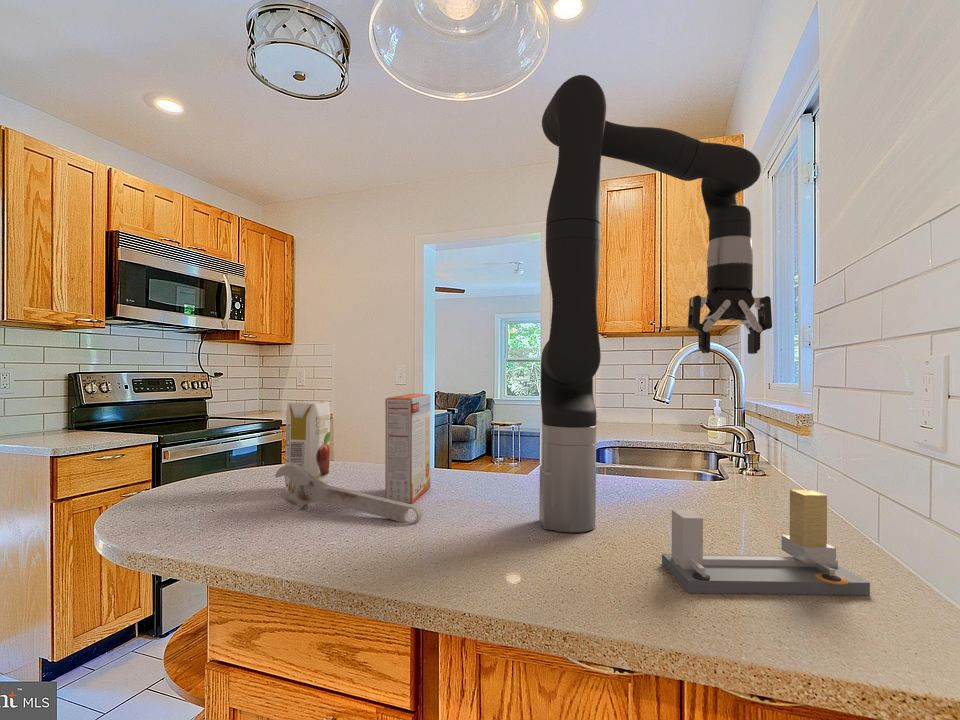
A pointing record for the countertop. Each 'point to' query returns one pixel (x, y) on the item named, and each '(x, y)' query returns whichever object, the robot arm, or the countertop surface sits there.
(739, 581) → the bolt plate
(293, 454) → the juice carton
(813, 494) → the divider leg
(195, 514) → the countertop surface
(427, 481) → the cracker box
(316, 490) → the wrench
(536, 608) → the countertop surface
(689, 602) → the countertop surface
